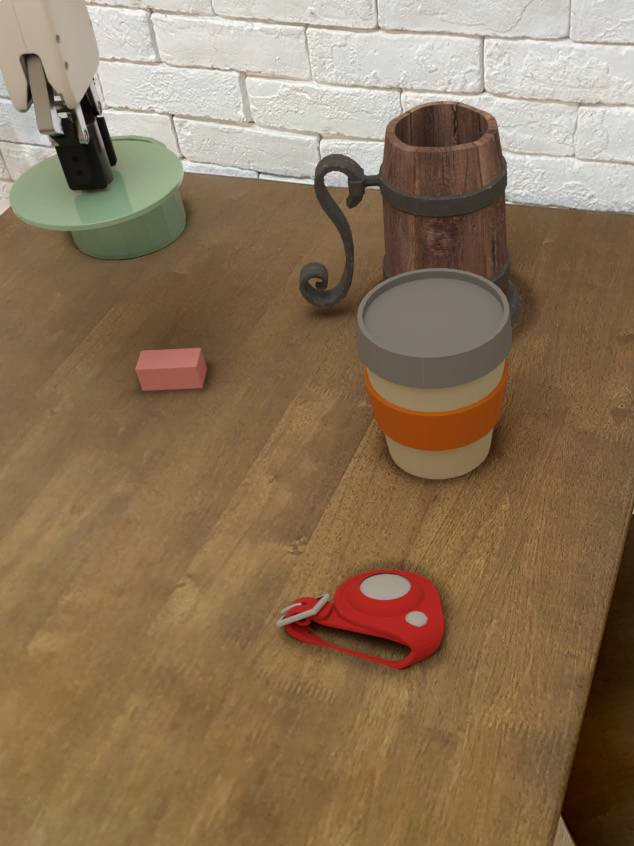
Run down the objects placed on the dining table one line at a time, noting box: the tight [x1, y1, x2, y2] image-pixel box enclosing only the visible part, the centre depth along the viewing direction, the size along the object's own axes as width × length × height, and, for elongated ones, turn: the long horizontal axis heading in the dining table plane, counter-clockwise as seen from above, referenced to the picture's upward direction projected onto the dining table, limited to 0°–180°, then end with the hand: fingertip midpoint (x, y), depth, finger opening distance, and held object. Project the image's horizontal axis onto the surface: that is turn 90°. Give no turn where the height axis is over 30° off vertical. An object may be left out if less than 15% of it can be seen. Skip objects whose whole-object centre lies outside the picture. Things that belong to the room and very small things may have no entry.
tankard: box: [298, 100, 522, 329], centre depth 91 cm, size 24×17×20 cm
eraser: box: [134, 347, 208, 392], centre depth 92 cm, size 6×3×4 cm, turn 90°
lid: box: [8, 114, 185, 232], centre depth 78 cm, size 15×15×6 cm
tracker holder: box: [275, 568, 445, 670], centre depth 70 cm, size 12×4×10 cm
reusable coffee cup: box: [356, 268, 513, 480], centre depth 79 cm, size 13×13×15 cm
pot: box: [70, 134, 187, 261], centre depth 111 cm, size 14×14×8 cm
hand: (93, 174), depth 79 cm, fingers closed on lid, 3 cm apart
